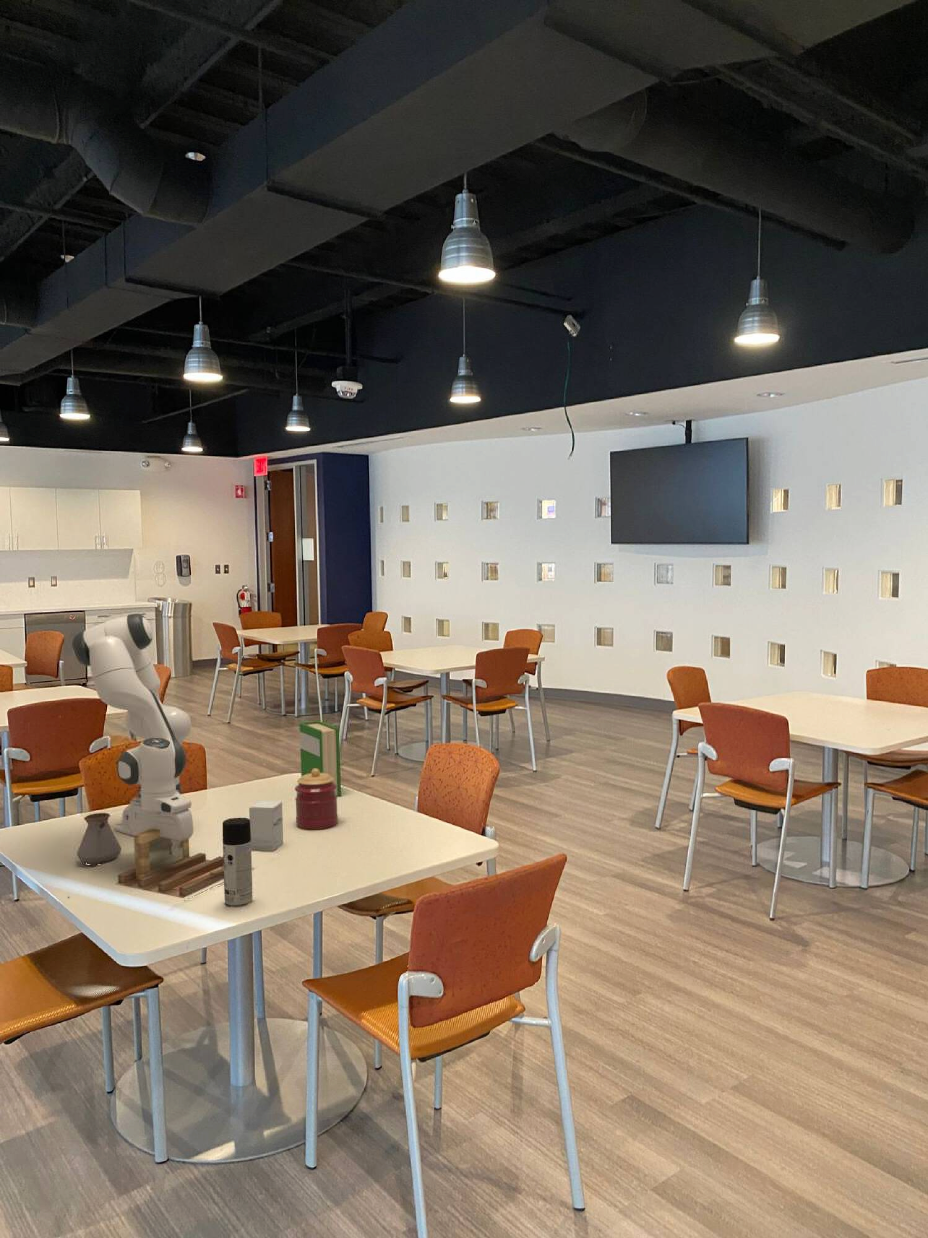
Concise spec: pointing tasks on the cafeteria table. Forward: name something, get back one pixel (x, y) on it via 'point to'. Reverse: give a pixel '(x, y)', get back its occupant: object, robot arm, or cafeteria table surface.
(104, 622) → the robot arm
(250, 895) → the spray can
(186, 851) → the wooden picture frame
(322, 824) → the canister
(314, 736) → the hardback book
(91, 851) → the coffee pot
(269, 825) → the supplement box
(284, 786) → the cafeteria table surface
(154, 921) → the cafeteria table surface
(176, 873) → the slotted rack
